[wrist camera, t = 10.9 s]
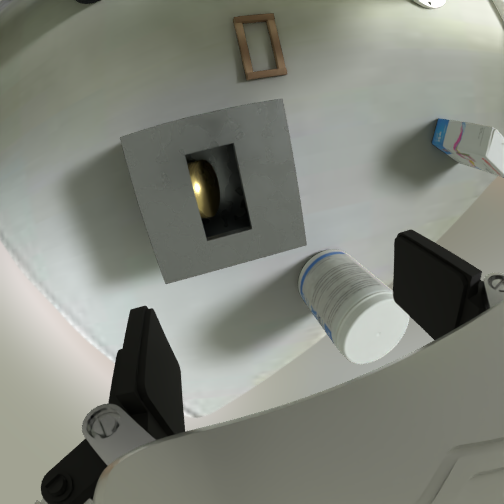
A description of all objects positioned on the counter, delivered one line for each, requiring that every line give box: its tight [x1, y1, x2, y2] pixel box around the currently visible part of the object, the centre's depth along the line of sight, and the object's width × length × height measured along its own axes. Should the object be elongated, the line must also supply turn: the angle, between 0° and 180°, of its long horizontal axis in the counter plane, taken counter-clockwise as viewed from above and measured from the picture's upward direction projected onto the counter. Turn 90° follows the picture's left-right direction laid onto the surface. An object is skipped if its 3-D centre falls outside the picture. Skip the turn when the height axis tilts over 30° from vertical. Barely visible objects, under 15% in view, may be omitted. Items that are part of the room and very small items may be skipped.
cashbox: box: [120, 99, 307, 284], centre depth 32 cm, size 15×15×9 cm
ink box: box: [432, 119, 504, 178], centre depth 36 cm, size 9×5×12 cm, turn 72°
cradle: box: [233, 13, 287, 80], centre depth 30 cm, size 8×5×1 cm, turn 11°
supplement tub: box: [298, 250, 409, 364], centre depth 39 cm, size 10×10×15 cm
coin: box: [187, 160, 220, 218], centre depth 32 cm, size 3×6×6 cm
